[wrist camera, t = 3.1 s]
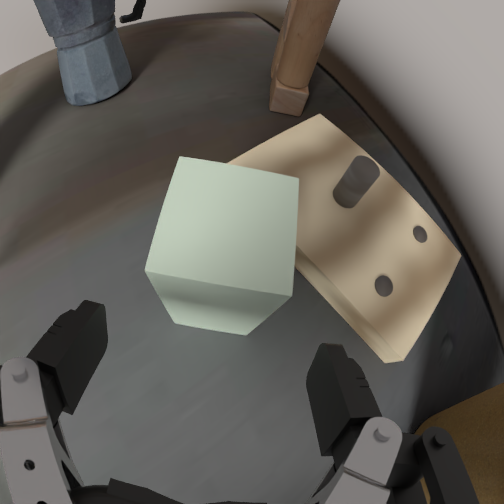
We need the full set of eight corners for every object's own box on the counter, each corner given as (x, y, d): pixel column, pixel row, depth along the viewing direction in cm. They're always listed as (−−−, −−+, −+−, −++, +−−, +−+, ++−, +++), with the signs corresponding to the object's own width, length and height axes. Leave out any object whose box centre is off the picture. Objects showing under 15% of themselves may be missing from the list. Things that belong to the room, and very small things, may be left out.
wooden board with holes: (216, 186, 24) (223, 131, 18) (312, 130, 29) (332, 84, 23) (384, 363, 20) (439, 354, 14) (445, 264, 25) (488, 237, 19)
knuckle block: (174, 323, 19) (144, 270, 9) (188, 256, 21) (179, 156, 11) (246, 335, 20) (292, 296, 10) (254, 268, 22) (298, 178, 12)
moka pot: (63, 74, 28) (41, -44, 10) (166, 61, 31) (171, -74, 13) (37, 117, 25) (-6, -20, 7) (154, 102, 27) (152, -71, 9)
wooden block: (296, 71, 34) (334, -40, 17) (300, 118, 29) (357, -26, 13) (270, 66, 33) (302, -49, 17) (267, 112, 29) (312, -40, 13)
